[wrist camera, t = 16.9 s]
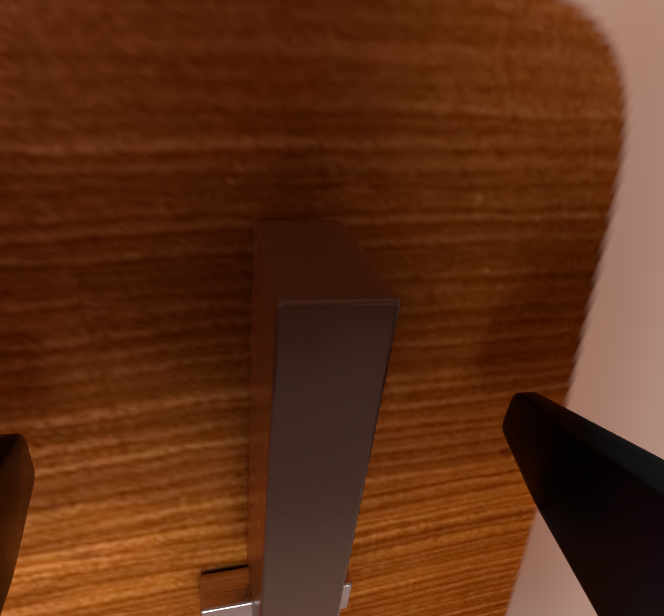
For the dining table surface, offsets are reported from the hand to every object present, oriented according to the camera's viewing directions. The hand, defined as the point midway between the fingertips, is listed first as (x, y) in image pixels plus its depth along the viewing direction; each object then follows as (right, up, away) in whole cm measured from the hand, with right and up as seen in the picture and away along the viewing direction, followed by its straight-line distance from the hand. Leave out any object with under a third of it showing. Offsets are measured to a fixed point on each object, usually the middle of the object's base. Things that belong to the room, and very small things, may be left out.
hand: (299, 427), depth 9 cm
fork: (-1, -3, +3) cm, 4 cm away
